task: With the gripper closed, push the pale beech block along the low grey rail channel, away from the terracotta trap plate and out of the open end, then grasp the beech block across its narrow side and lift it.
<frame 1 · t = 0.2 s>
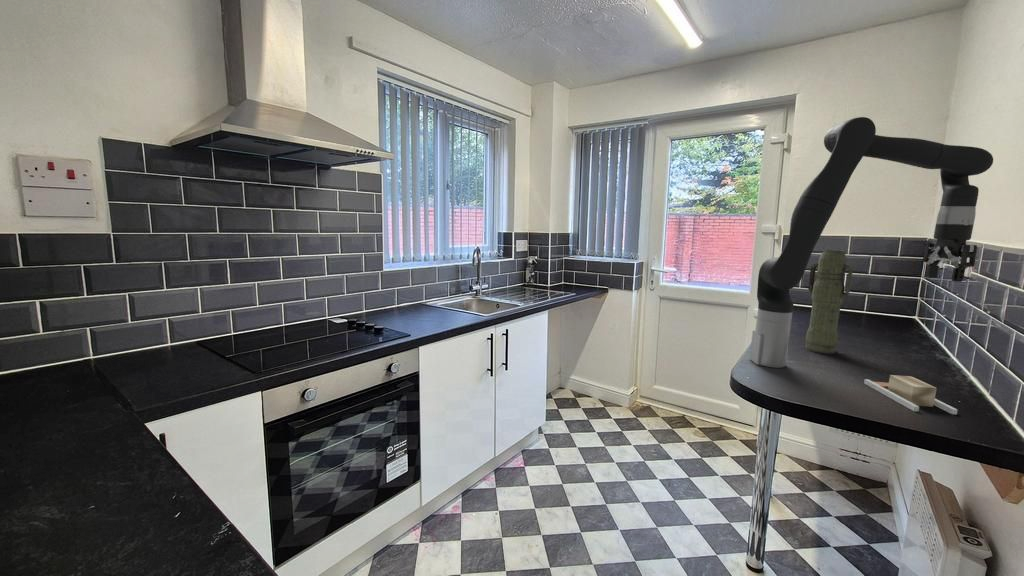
hand: (943, 279, 124), 29 cm above the worktop, fingers open, 8 cm apart
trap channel: (906, 397, 110), on the worktop
beech block: (909, 399, 109), on the worktop
thermos: (819, 350, 151), on the worktop
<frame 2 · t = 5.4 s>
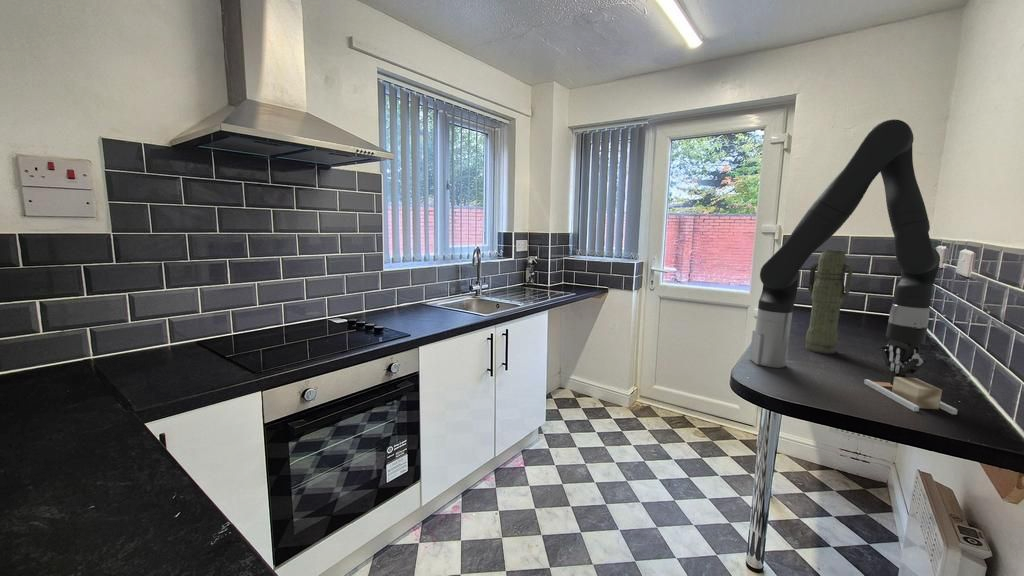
hand: (896, 386, 113), 2 cm above the worktop, fingers closed
beech block: (914, 401, 107), on the worktop
everything else where it was.
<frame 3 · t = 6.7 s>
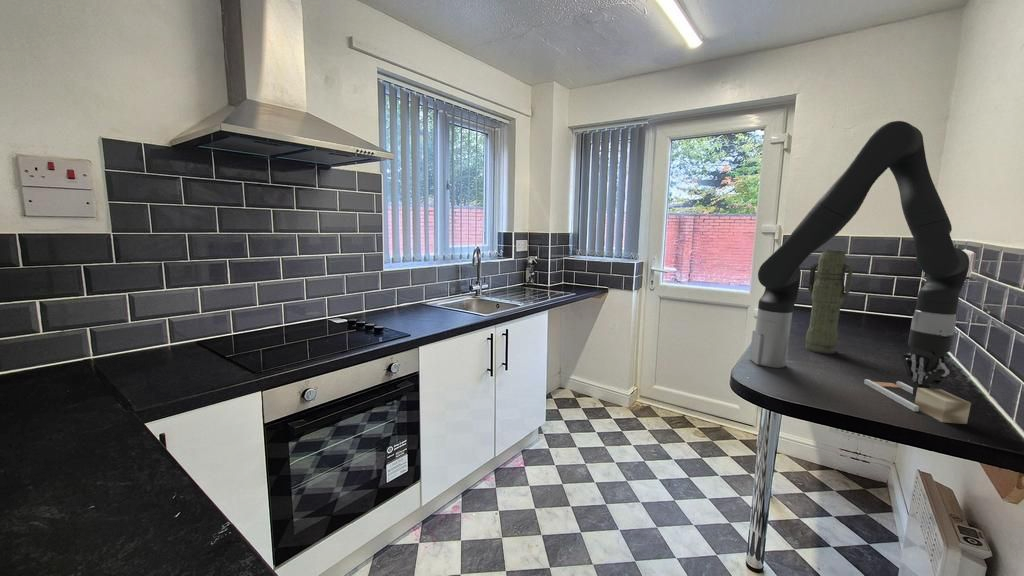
hand: (919, 397, 106), 2 cm above the worktop, fingers closed
beech block: (939, 415, 100), on the worktop, touching gripper
everything else where it was.
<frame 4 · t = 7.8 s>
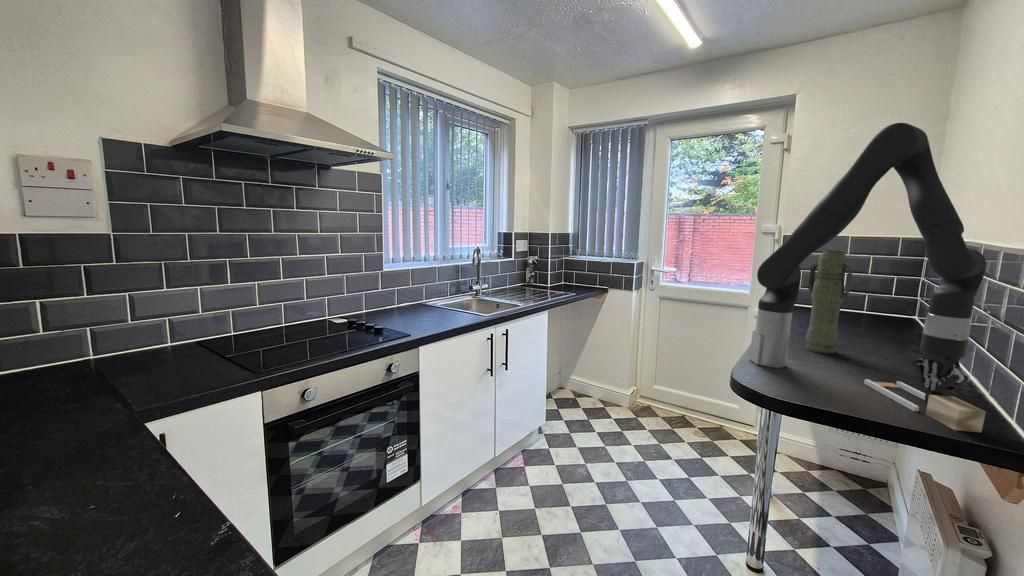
hand: (932, 404, 102), 2 cm above the worktop, fingers closed
beech block: (952, 423, 96), on the worktop, touching gripper
everything else where it was.
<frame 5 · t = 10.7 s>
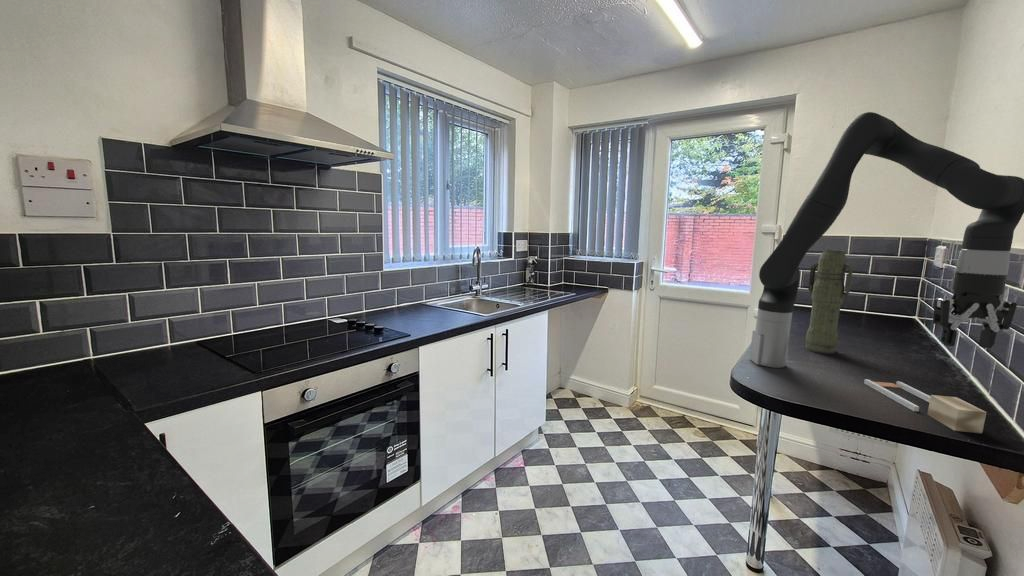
hand: (966, 346, 94), 18 cm above the worktop, fingers open, 6 cm apart
beech block: (953, 424, 96), on the worktop
everything else where it was.
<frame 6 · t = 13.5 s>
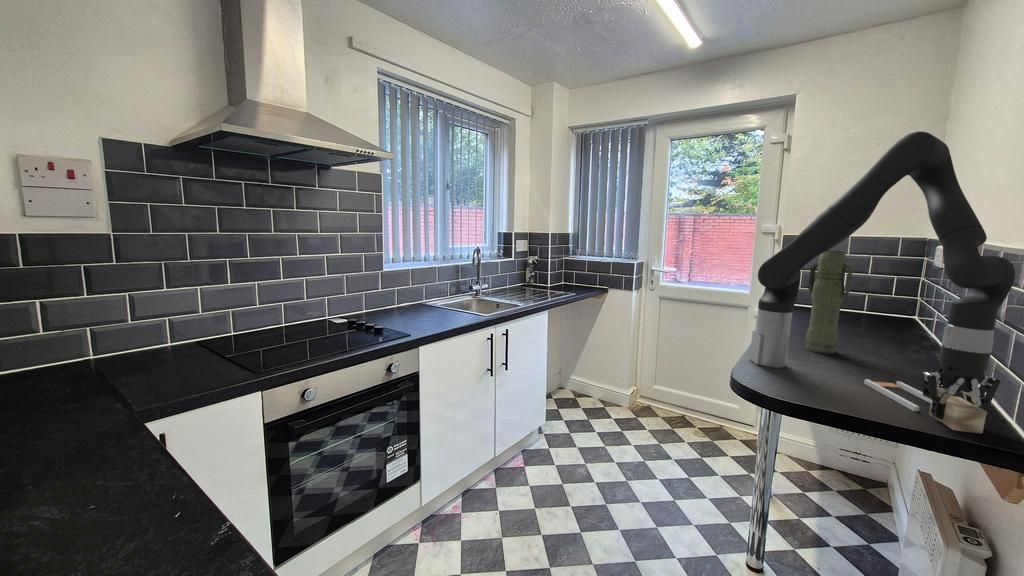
hand: (952, 418, 96), 1 cm above the worktop, fingers closed on beech block, 5 cm apart
beech block: (954, 423, 96), on the worktop, touching gripper
everything else where it was.
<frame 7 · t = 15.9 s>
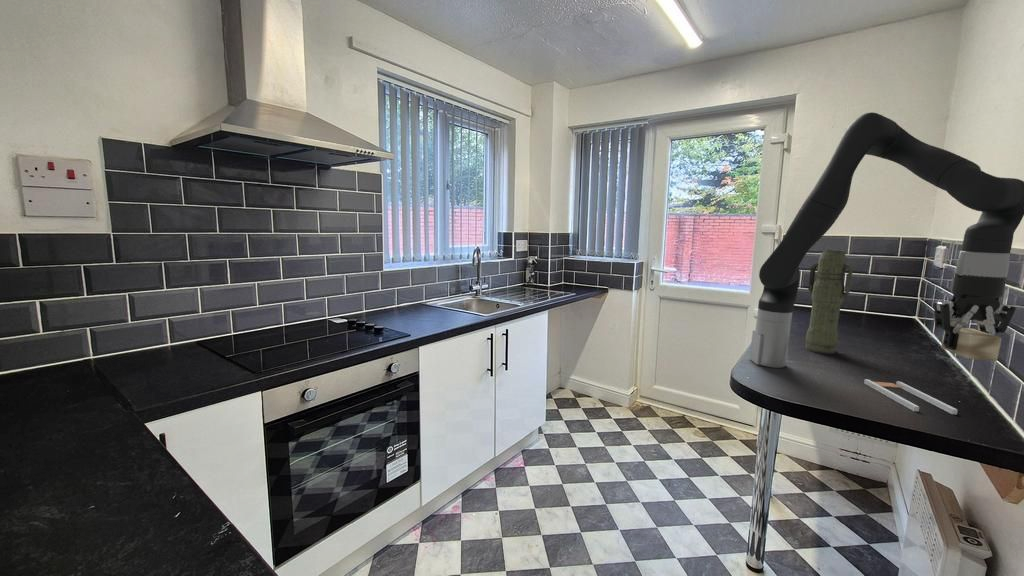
hand: (965, 349, 94), 17 cm above the worktop, fingers closed on beech block, 5 cm apart
beech block: (967, 354, 93), point 16 cm above the worktop, touching gripper
everything else where it was.
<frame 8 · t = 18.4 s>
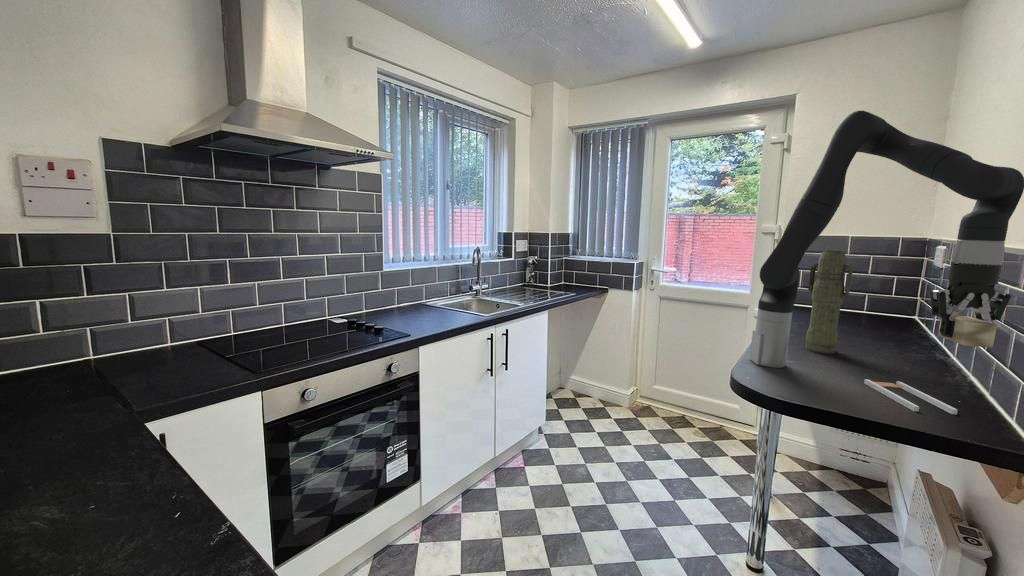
hand: (961, 336, 95), 19 cm above the worktop, fingers closed on beech block, 5 cm apart
beech block: (963, 341, 94), point 19 cm above the worktop, touching gripper
everything else where it was.
at the end: the gripper is holding beech block; beech block point 18.6 cm above the worktop; beech block inside the target area (0.1 cm from its centre), point 18.6 cm above the worktop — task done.
